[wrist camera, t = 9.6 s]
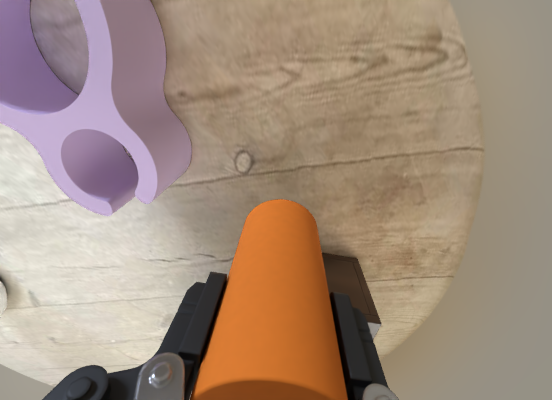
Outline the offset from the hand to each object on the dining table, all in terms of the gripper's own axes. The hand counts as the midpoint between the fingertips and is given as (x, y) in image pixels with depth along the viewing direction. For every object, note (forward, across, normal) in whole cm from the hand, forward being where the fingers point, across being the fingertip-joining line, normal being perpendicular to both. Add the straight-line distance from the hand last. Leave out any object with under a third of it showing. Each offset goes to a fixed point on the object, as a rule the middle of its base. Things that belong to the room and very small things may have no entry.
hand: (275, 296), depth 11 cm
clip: (+15, +16, -7) cm, 23 cm away
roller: (+5, 0, 0) cm, 5 cm away
